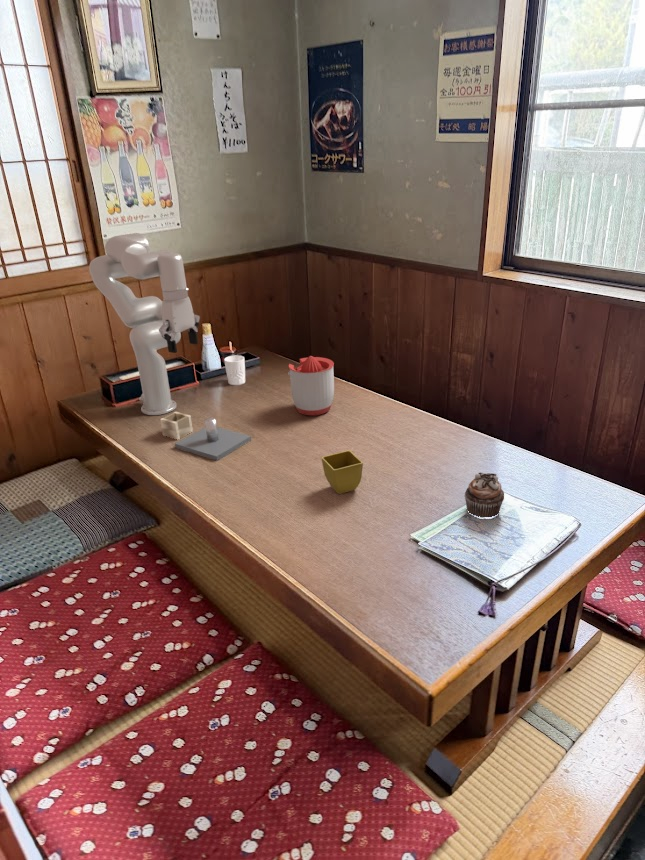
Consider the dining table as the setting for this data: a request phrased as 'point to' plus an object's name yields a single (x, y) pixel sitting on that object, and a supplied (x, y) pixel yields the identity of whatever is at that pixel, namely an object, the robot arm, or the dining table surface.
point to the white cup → (235, 369)
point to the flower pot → (342, 471)
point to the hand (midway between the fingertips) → (183, 347)
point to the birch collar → (176, 425)
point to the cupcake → (484, 495)
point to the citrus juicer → (312, 385)
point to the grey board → (213, 443)
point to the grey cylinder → (211, 429)
